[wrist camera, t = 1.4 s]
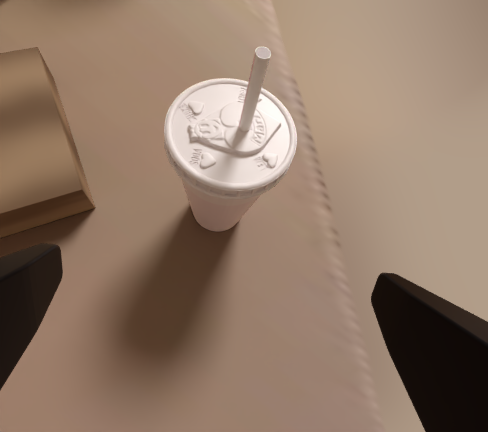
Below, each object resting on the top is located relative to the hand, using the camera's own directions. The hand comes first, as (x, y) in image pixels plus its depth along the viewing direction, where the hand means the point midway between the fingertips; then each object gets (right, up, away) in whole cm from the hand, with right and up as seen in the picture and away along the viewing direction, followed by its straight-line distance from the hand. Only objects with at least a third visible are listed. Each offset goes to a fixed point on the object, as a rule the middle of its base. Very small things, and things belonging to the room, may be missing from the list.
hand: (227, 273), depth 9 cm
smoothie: (-2, +2, +15) cm, 15 cm away
